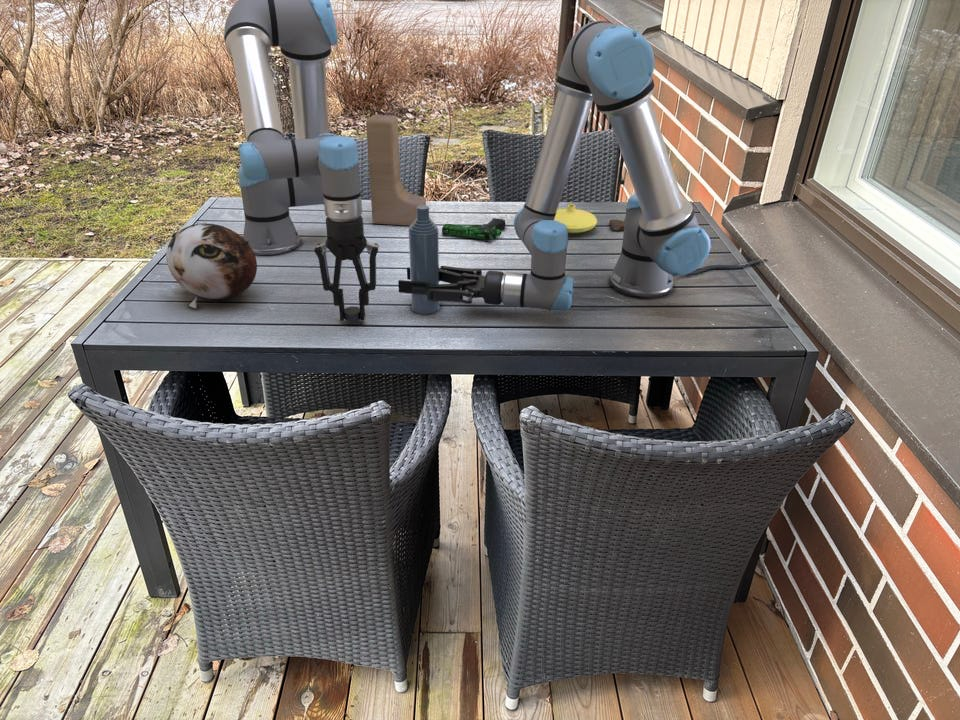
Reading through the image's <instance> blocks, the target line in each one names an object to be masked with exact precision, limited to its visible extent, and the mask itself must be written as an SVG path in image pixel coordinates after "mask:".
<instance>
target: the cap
mask: <svg viewBox="0 0 960 720" xmlns="http://www.w3.org/2000/svg"><path fill="white" fill-rule="evenodd" d="M344 308H345V309H344V321H346V322H353V323H354V322H358V321H361V318H360V306H347V307H344Z"/></svg>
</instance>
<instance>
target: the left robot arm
mask: <svg viewBox="0 0 960 720" xmlns="http://www.w3.org/2000/svg"><path fill="white" fill-rule="evenodd" d="M223 38H224V44H225V48H226V51H227V53H228V54H229V55H230V56H231V58H232V62H233V68H234V74H235V78H236V79H235V80H236V86H237V91H238V95H239V96H238V98H239V102H240V109H241V115H242V121H243V125H244V132H245V138H246V142H242V143H241V142H240V144H239V145H238V152H239V159H240V166H239V168H238V170H237V174H238V186H239V187H240V194H241V201H242V207H243V212H244V213H243V215H244V219H245V220H244V226H243V228H244V229H243V235H240V236H241V237H243V238H244V239H245V240H246V241H249V242H248V244H249V245H250V247H251V248H252V250H253V252H254V254H255V256H256V255H257V256H275V255H281V254H282V255H283V254H285V253H289V252H291V251H293V250H296V249H297V248H298V247H299V246H300V244H301V241H300V235H299V233H298V231H297V229H296V227H295V225H294V223H293V220H292V218H291V216H290V208H295V207H307V206H308V207H309V206H316V205H317V206H318V205H323V209H324V215H325V217H326V218H325V227H326V240H325V242H324V243H321V244H320V243H316V244H315V247H314V249H313V250H314V254H315V255H316V257H317V259H318V264H319V270H320V276H321V283H322V289H323V290H324V291H325V292H331V294H332V301H333V305H334V307H338V310H339V311H338V312H339V320H340V322H344V321H345V319H344V309H345V308H346V307H345V300H344V297H345V296H344V289H343V288H340V282H341V274H342V266H343V261H346V260H348V261H352V264H353V266H354V269H355V272H356V276H357V280H358V283H359V287H360V288H359V290H358V303H359V304H358V305H359V306H358V307H359V308H360V318H361V319H360V321H361V322H364V321H365V318H366V307H365V306H369V303H370V296H369V293H370V292H371V291H375V290H376V287H377V254H378V252H379V247H380V245H379V243H371V242H369V241H368V240H367V238H366V237H365V230H364V217H363V216H362V215H363V202H362V192H361V180H360V161H359V160H360V154H359V150H358V143H357V141H356V140H355V138H352V137H348V136H344V135H337V134H334V133H331V132H330V123H329V105H328V104H329V103H328V87H327V85H328V84H327V70H326V60H328V58H330V56H331V54H332V47H334V46H336V45H337V44H338V43H339V42H338V31H337V25H336V20H335V15H334V11H333V6H332V3H331V0H236V2H235V3H234V4H233V6H232V7H231V8H230V10H229V13H228V15H227V17H226V20H225V23H224V31H223ZM272 47H273V48H275V47H280V48H279V50H280V54H281V55H282V57H284V58H285V59H286V60H287V61H288V73H289V83H290V94H291V104H292V113H293V115H292V116H293V125H294V126H293V127H294V136H295V137H294V138H295V139H286V138H285V134H284V129H283V124H282V119H281V114H280V109H279V103H278V98H277V93H276V88H275V87H276V86H275V83H274V78H273V72H272V68H271V67H272V66H271V62H270V56H269V54H270V52H271V50H272ZM178 232H179V231H176V232H174V233H173V234H172V235H171V236H170V237H171V238H173V237H174V235H176V234H177V233H178ZM327 249H328V250H329V252H330V253H331V254H332V255H333V256H334V257H335V258H334V259H335V260H334V268H333V269H334V270H333V280H332V282H331V278H330V272H329V271H330V270H329V265H328V259H327V252H328V250H327ZM365 249H366V250H367V252H366V253H367V254H368V255H369V258H368V259H369V261H368V262H369V263H368V264H369V282H368V279H367V276H366V272H365V269H364V266H363V262H362V257H361V254H362V253H363V252H364V250H365Z"/></svg>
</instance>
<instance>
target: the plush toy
mask: <svg viewBox="0 0 960 720" xmlns="http://www.w3.org/2000/svg"><path fill="white" fill-rule="evenodd" d="M177 232H178V233H177V234H176V235H174V237H171V239H170V241H169V243H168V245H167V248H166V254H165V260H166V265H167V268H168V271H169V273H170V275H171V276H172V277H173V279H174V280H175V281H176V282H177V284H178V285H180V286H181V287H182V288H183V289H185V290H186V291H187V292H189V293H191V294H194V295H195V298H194V299H193V300H192V302H190V303H189V304H188V306H189V307H191V308H192V309H197V308H198V307H197V298H198V297H201V298H205V299H210V300H226V299H230V298H233V297H236V296H238V295H241V294H242V293H244V292H245V291H247V290H248V289H249V288H250V286H251V285H252V284H253V282H254V280H255V278H256V275H257V271H258V262H257V257H256V254H254V252H253V250H252V248H251V247H250V245H249V244H248V242H249V241H246V240H245V239H244V238H243V237H241V236H242V235H240V234H239V233H238V232H236V231H234V230H233V229H231V228H229V227H226V226H223V225H220V224H215V223H205V222H204V223H195V224H191V225H188V226H186V227H183V228H182V229H180V230H179V231H177Z"/></svg>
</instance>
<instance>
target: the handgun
mask: <svg viewBox="0 0 960 720" xmlns="http://www.w3.org/2000/svg"><path fill="white" fill-rule="evenodd" d="M505 228H506V220H505V219H503V218H497V217H492V219H491V220H490V221H489V222H488V223H483V224H482V225H479V224H472V225H459V224H453V223H445V224H443V226H442V227H441V235H446V236H454V237H462V238H469V239H470V238H471V239H474V240H479V241H484V242H491V241H492V240H494V239H495V238H497V237H500V236H502V230H504V229H505Z"/></svg>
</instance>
